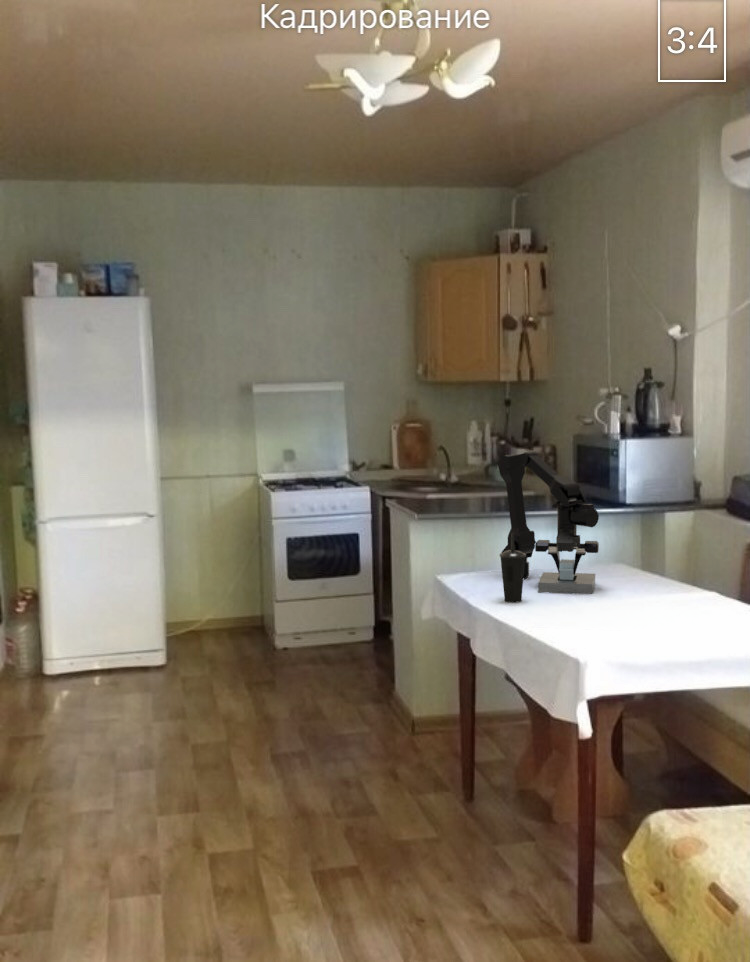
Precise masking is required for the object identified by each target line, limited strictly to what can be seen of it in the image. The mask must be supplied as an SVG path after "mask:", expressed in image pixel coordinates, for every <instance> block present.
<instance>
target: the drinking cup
mask: <svg viewBox="0 0 750 962" xmlns="http://www.w3.org/2000/svg"><path fill="white" fill-rule="evenodd" d="M511 544H512V550H508V551H505V552H503V553H501V552H500V553H499V558H500V566H501V574H502V575H501V577H502V586H503V587H502V588H503V595H504V601H505V602H507V603H520V602H522V598H523V587H524V579H523V576H524V564H525V557H526V554H525V553H523V552H521V551H518V550H514V532H511Z"/></svg>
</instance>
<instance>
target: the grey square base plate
mask: <svg viewBox="0 0 750 962" xmlns="http://www.w3.org/2000/svg"><path fill="white" fill-rule="evenodd" d="M595 585H596V573H583V572H581V573H579V572H576V573H575V575H574V578H573V580H561V579H560V574H559V572H549V571H547V572H546V571H544V572H542V574H541V576H540V578H539V580H538V583H537V593H541V592H552V593H551V594H572V593H575V595H576V594H577V593H578V595H579V594H580V595H593V594H594V590H595Z"/></svg>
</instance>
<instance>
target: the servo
mask: <svg viewBox="0 0 750 962" xmlns="http://www.w3.org/2000/svg"><path fill="white" fill-rule="evenodd" d="M574 562H575V559H571V558H570V559H568V558H567V559H565V558H563V559H562V558H561V559H560V568H559V571H560V579H561V580H573V578H574Z"/></svg>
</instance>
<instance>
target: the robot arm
mask: <svg viewBox="0 0 750 962" xmlns="http://www.w3.org/2000/svg"><path fill="white" fill-rule="evenodd" d="M497 465H498V472H499V475H500V477H501V478H502V480H503V481H504V483H505V485H506V493H507V501H508V512H509V520H510V530H509V532H508V535H507V545H506V546H505V547H504V548H503V549H502V551H501V552H500V553H503V552H505V551H508V550H512V544H511V532H514V550H518V551H521V552H523V553H525V554H526V557H525V564H524V576H523V580H524V579H527V578H528V577H529V576H530V561H528V558H532V556H533V552H537V553H539V552H540V553H542V552H544V553H546V552H547V555H550V556H551V557H552V559H553V561H554V564H555V566H556V569H557V571H558V572H557V573H559V574H560V571H559V568H560V561H561V559H560V558H561V557H560V552H561V553H562V552H569V553H572V552H574V550H575V555H574V575H575V573H577V569H578V566H579V562H580V561H581V558H582V556H586V555H587V554H598V553H599V550H600V548H599V547H600V544H599V542H598V540H585V542H584V543H581V534H580V535H579V534H577V526H580V527H587V528H594V527H596V526H597V524H598V522H599V519H600V516H599V513H598V510H597V509H596V508H595V507H594V506H595V505H594V504H592V503H588V502H587V500H586V498H585V496H584V495H583V493H582V491H581V489H580V488H581V487H580V485H579V484H578V483H577V482H575V481H574V480H572V479H571V478H568V477H564V476H562V475H561V474H559V473H558V472H557V471H555V469H554V468H553V467H552V466H551V465H549V464H548V463H547V462H546V461H545V460H543V459H542V458H541V457H540V456H539V454H538V452H535V451H528V452H527V451H526V452H523V453H519V454H517V453H516V454H506V455H502V456H500V458H499V460H498V461H497ZM526 468H528V469H529V470H530V471H531V472H533V474H534V475H536V477H538V478H539V479H540V480H541V481H543V482H544V484H545V485H547V487H548V488H549V493H550V494H551V495H552V497H553V498H554V499H555V502H554V503H553V504H552V505H551V507H552V508H553V509H557V510H556V511H557V513H556V514H557V517H556V518H557V523H556V525H557V531H556V532H557V535H556V540H555V541H556V542H551V540H550V539H538V540H537V541H536V539H535V537H536V535H535V531H534V530H530V528H529V527H528V524H527V517H526V509H525V507H526V506H525V499H524V491H523V482H522V481H523V478H524V476H525V474H526ZM534 550H535V551H534Z"/></svg>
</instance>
